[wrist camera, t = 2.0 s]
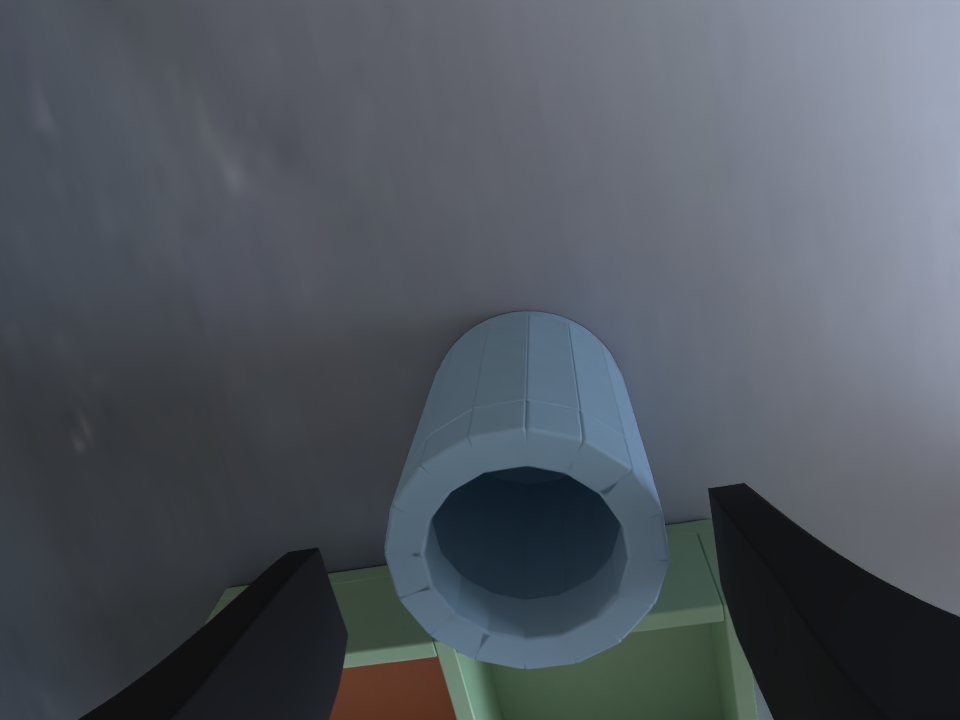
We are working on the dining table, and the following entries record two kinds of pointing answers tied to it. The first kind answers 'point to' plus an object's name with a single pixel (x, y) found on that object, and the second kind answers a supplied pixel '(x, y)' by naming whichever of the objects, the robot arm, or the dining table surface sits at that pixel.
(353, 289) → the dining table surface
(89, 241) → the dining table surface
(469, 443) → the jar
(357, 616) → the green compartment tray
